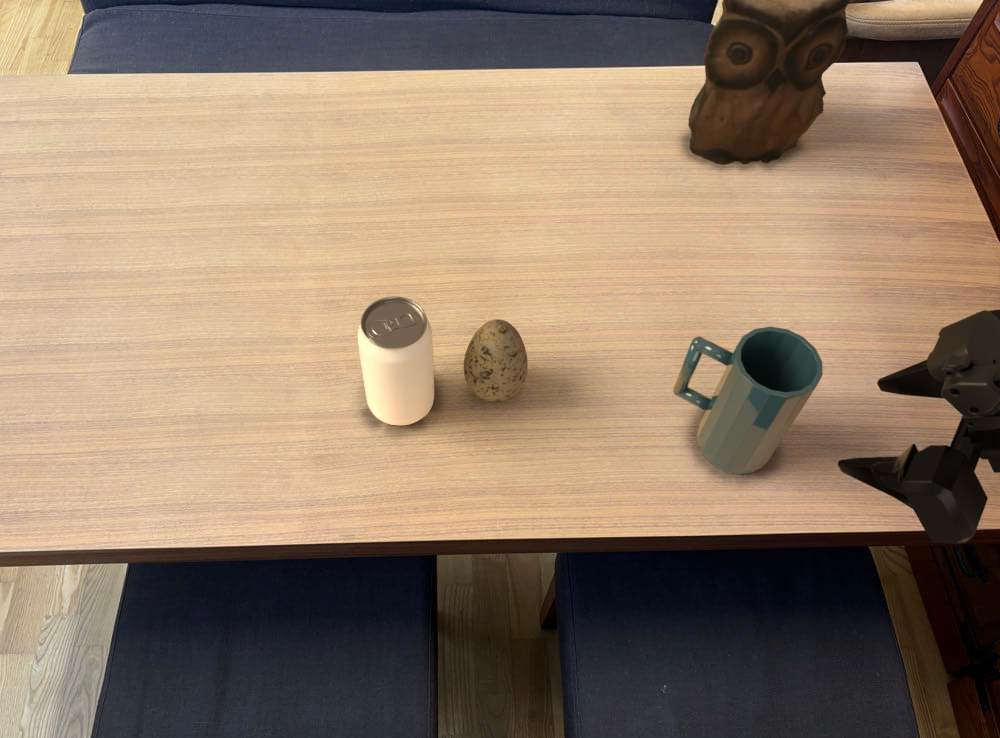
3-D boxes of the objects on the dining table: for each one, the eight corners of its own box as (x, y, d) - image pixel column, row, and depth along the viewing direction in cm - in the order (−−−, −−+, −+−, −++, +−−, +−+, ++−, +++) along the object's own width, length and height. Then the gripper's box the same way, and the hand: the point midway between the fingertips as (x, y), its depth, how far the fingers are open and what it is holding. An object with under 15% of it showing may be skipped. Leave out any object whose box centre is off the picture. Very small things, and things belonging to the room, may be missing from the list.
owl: (810, 146, 102) (881, -13, 85) (744, 195, 97) (806, 37, 80) (727, 95, 107) (779, -65, 90) (661, 139, 102) (702, -21, 85)
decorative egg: (515, 359, 84) (522, 294, 76) (531, 409, 81) (540, 346, 73) (457, 370, 84) (457, 305, 75) (470, 420, 80) (473, 358, 72)
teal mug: (782, 433, 80) (835, 352, 69) (752, 487, 77) (802, 410, 66) (682, 381, 83) (717, 295, 72) (649, 430, 80) (681, 348, 69)
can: (357, 384, 83) (344, 305, 72) (419, 363, 84) (415, 283, 74) (381, 437, 79) (370, 362, 69) (444, 414, 81) (444, 338, 71)
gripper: (1086, 233, 57) (859, 274, 69) (1013, 431, 48) (770, 436, 61) (1132, 356, 61) (911, 373, 74) (1073, 558, 53) (834, 538, 65)
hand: (860, 424), depth 68 cm, fingers open, 9 cm apart
